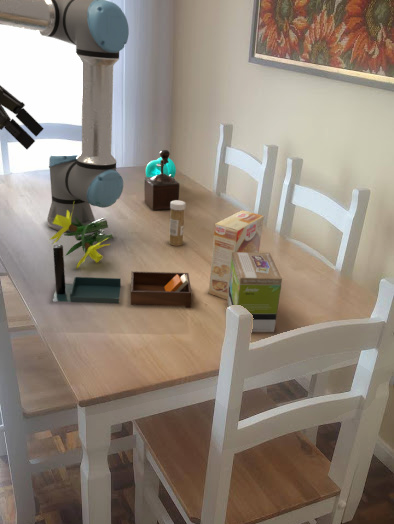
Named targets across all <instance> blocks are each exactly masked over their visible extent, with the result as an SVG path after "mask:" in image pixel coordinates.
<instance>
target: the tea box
mask: <svg viewBox="0 0 394 524" xmlns="http://www.w3.org/2000/svg"><path fill="white" fill-rule="evenodd" d="M282 284H283V278H282V276H281V274H280V271H279V270H278V267H277V265H276V263H275V261H274V258H273V256H272V254H271V252H259V253H242V252H232V259H231V270H230V281H229V292H228V300H227V306H228V308H229V306H231V305H241V306H243V307H244V308H246V309H247V310H248V311H249V312H250V313H251V314H252V315H253V318H254V319H253V329H252V332H251V333H274V332H275V329H276V324H277V315H278V311H279V310H278V309H279V303H280V297H281V290H282Z"/></svg>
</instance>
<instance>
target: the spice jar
mask: <svg viewBox="0 0 394 524" xmlns="http://www.w3.org/2000/svg"><path fill="white" fill-rule="evenodd" d="M170 208H171V209H170V215H169V239H168V243H169V245H171V246H174V247H177V246H178V247H179V246H182V245H183V244H184V229H185V227H184V224H185V209H186V201H183V200H180V199H179V200H174V201H171V203H170Z"/></svg>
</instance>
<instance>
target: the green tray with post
mask: <svg viewBox="0 0 394 524" xmlns="http://www.w3.org/2000/svg"><path fill="white" fill-rule="evenodd" d="M52 251H53V267H54V282H55V291H54V295H53V297H52V300H51V301H52V302H63V303H67V302H68V303H92V304H93V303H95V304H96V303H97V304H120V295H121V286H122V281H121V280H122V279H121V277H120V278H119V277H115V278H114V277H94V276H93V277H88V276H74V278H73V282H72V283H66V275H65V258H64V257H65V256H64V246H63V245H62V244H53V245H52Z"/></svg>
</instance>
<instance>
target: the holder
mask: <svg viewBox="0 0 394 524" xmlns="http://www.w3.org/2000/svg"><path fill="white" fill-rule="evenodd" d="M130 273H131V274H130V275H131V276H130V306H164V307H185V308H191V307H192V293H193V292H192V288H191V280H190V274H189V272H171V271H170V272H169V271H167V272H165V271H131V272H130ZM177 274H178V275H179V276H180V277H181V276H182V275H183V274H185V275H186V276H187V279H188V282H189V283H188V284H187V285H186V286H185V287H184V288H183V289H181V290H180V291H179V292H169V291H166V290H165V288H164V286H165V285H166V284H167V283H168V282H169V281H170V280H172V279H173V278H174V277H175V276H176V275H177Z"/></svg>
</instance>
